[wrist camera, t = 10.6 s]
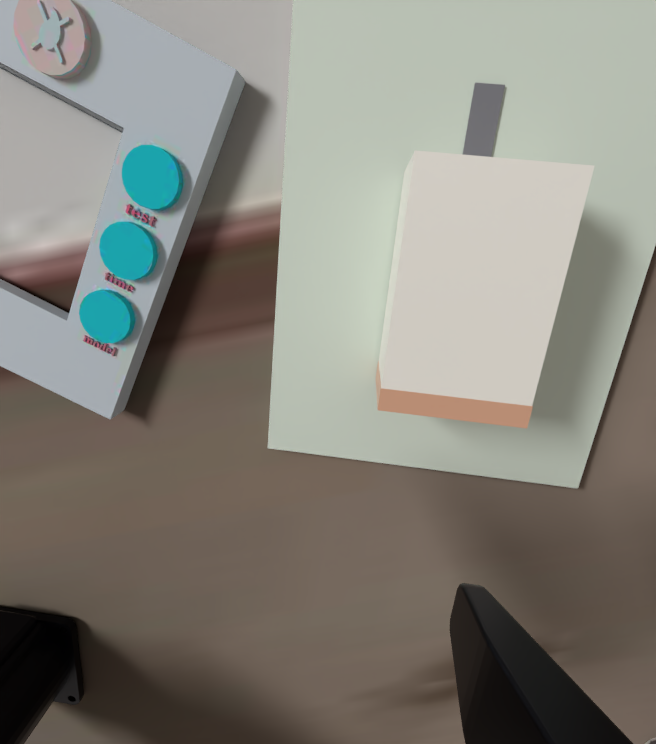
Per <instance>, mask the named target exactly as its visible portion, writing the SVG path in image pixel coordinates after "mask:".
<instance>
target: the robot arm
mask: <svg viewBox="0 0 656 744" xmlns="http://www.w3.org/2000/svg"><path fill="white" fill-rule="evenodd" d="M450 636H451V644H452V652H453V659H454V667H455V675H456V683H457V690H458V698H459V706H460V713H461V720H462V727H463V733H464V738H465V743H466V744H633V743H632V742H631V741H630V740H629V739H628V738H627V737H626V736H625V735H624V733H623V732H622V731H621V730H620V729H619V728H618V727H617V726H616V725H615V724H614V723H613V722H612V721H611V720H610V719H609V718H608V717H607V716H606V715H605V714H604V712H603V711H602V710H601V709H600V708H599V707H598V706H597V705H596V704H595V703H594V702H593V701H592V700H591V699H590V698H589V697H588V696H587V695H586V694H585V693H584V691H583V690H582V689H581V688H580V687H579V686H578V685H577V684H576V683H575V682H574V681H573V680H572V679H571V678H570V677H569V676H568V675H567V674H566V673H565V672H564V670H563V669H562V668H561V667H560V666H559V665H558V664H557V663H556V662H555V661H554V660H553V659H552V658H551V657H550V656H549V655H548V654H547V653H546V652H545V651H544V649H543V648H542V647H541V646H540V645H539V644H538V643H537V642H536V641H535V640H534V639H533V638H532V637H531V636H530V635H529V634H528V633H527V632H526V631H525V630H524V628H523V627H522V626H521V625H520V624H519V623H518V622H517V621H516V620H515V619H514V618H513V617H512V616H511V615H510V614H509V613H508V612H507V611H506V610H505V609H504V607H503V606H502V605H501V604H500V603H499V602H498V601H497V600H496V599H495V598H494V597H493V596H492V595H491V594H490V593H489V592H488V591H487V590H486V589H485V588H484V587H482V586H480V585H473V584H466V583H462V584H460V585H459V587H458V588H457V592H456V596H455V601H454V605H453V609H452V613H451V618H450ZM83 695H84V690H83V682H82V673H81V665H80V656H79V647H78V639H77V630H76V624H75V622H74V621H73V620H71V619H69V618H66V617H59V616H53V615H47V614H41V613H34V612H28V611H22V610H15V609H9V608H3V607H0V744H24V743H25V741H26V740H27V739H28V737H29V736H30V734H31V733H32V731H33V730H34V728H35V727H36V725H37V724H38V723H39V721H40V720H41V718H42V717H43V715H44V714H45V712H46V711H47V710H48V708H49V707H50V705H51V704H52V702H53V701H55V702H61V703H67V704H72V705H76V704H78V703H79V702H80V700H81V699H82V697H83Z"/></svg>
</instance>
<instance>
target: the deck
mask: <svg viewBox="0 0 656 744" xmlns="http://www.w3.org/2000/svg"><path fill="white" fill-rule="evenodd" d="M593 170H594V166H593V165H582V164H570V163H558V162H546V161H534V160H522V159H510V158H499V157H487V156H475V155H463V154H451V153H439V152H427V151H416V150H415V151H414V153H413V155H412V157H411V159H410V161H409V163H408V165H407V167H406V169H405V171H404V177H403V185H402V192H401V199H400V207H399V214H398V221H397V229H396V236H395V243H394V251H393V258H392V265H391V273H390V280H389V288H388V295H387V302H386V310H385V317H384V324H383V332H382V339H381V346H380V354H379V361H378V365H377V372H376V394H377V409H378V410H379V411H388V412H396V413H404V414H412V415H420V416H428V417H437V418H445V419H453V420H461V421H469V422H478V423H486V424H494V425H502V426H510V427H518V428H527V427H528V423H529V420H530V416H531V412H532V408H533V406H532V405H533V401H534V397H535V393H536V389H537V385H538V382H539V378H540V374H541V370H542V366H543V362H544V358H545V355H546V351H547V347H548V343H549V339H550V335H551V332H552V328H553V324H554V320H555V316H556V312H557V309H558V305H559V301H560V297H561V293H562V289H563V285H564V282H565V278H566V274H567V270H568V266H569V262H570V259H571V255H572V251H573V247H574V243H575V239H576V236H577V232H578V228H579V224H580V220H581V216H582V213H583V209H584V205H585V201H586V197H587V193H588V189H589V186H590V182H591V178H592V174H593Z"/></svg>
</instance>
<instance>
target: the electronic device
mask: <svg viewBox="0 0 656 744" xmlns="http://www.w3.org/2000/svg"><path fill="white" fill-rule="evenodd" d="M0 62H1V63H2V64H4V65H6V66H8V67H10V68H12V69H14V70H16V71H17V72H19V73H21V74H23V75H25V76H27V77H29V78H31V79H32V80H34V81H36V82H38V83H40V84H42V85H44V86H46V87H47V88H49V89H51V90H53V91H55V92H57V93H59V94H61V95H63V96H64V97H66V98H68V99H70V100H72V101H74V102H76V103H78V104H79V105H81V106H83V107H85V108H87V109H89V110H91V111H93V112H94V113H96V114H98V115H100V116H102V117H104V118H106V119H108V120H109V121H111V122H113V123H115V124H117V125H119V126H121V127H123V128H124V129H123V132H122V136H121V139H120V143H119V146H118V150H117V153H116V156H115V160H114V163H113V166H112V170H111V173H110V177H109V180H108V183H107V187H106V190H105V194H104V197H103V200H102V204H101V207H100V211H99V214H98V217H97V221H96V224H95V227H94V231H93V234H92V238H91V241H90V244H89V248H88V251H87V255H86V258H85V261H84V265H83V268H82V272H81V275H80V278H79V282H78V285H77V288H76V292H75V295H74V299H73V302H72V305H71V309H70V312H69V313H67V312H65V311H63V310H61V309H59V308H57V307H55V306H53V305H51V304H49V303H47V302H45V301H43V300H41V299H39V298H37V297H35V296H33V295H31V294H29V293H27V292H25V291H23V290H21V289H19V288H17V287H15V286H13V285H11V284H9V283H7V282H5V281H4V280H2V279H0V366H2V367H4V368H6V369H8V370H10V371H12V372H14V373H16V374H18V375H20V376H22V377H24V378H26V379H28V380H30V381H32V382H34V383H36V384H39V385H41V386H43V387H45V388H47V389H49V390H51V391H53V392H55V393H57V394H59V395H61V396H63V397H65V398H67V399H69V400H71V401H73V402H75V403H77V404H79V405H82V406H84V407H86V408H88V409H90V410H92V411H94V412H96V413H98V414H100V415H102V416H104V417H106V418H108V419H112V418H113V417H115V416H116V415H118V414H119V413H121V412H122V411H124V409H125V407H126V404H127V401H128V399H129V396H130V393H131V390H132V388H133V385H134V382H135V380H136V377H137V374H138V372H139V369H140V366H141V363H142V361H143V358H144V355H145V353H146V350H147V347H148V344H149V342H150V339H151V336H152V334H153V331H154V328H155V326H156V323H157V320H158V317H159V315H160V312H161V309H162V307H163V304H164V301H165V299H166V296H167V293H168V290H169V288H170V285H171V282H172V280H173V277H174V274H175V271H176V269H177V266H178V263H179V261H180V258H181V255H182V253H183V250H184V247H185V244H186V242H187V239H188V236H189V234H190V231H191V228H192V225H193V223H194V220H195V217H196V215H197V212H198V209H199V207H200V204H201V201H202V198H203V196H204V193H205V190H206V188H207V185H208V182H209V179H210V177H211V174H212V171H213V169H214V166H215V163H216V161H217V158H218V155H219V152H220V150H221V147H222V144H223V142H224V139H225V136H226V133H227V131H228V128H229V125H230V123H231V120H232V117H233V115H234V112H235V109H236V106H237V104H238V101H239V98H240V96H241V93H242V90H243V87H244V85H245V81H244V79H243V78H242V77H241V75H240V74H239V72H238V71H237V70H236V69H234V68H233V67H231V66H229V65H227V64H225V63H224V62H222V61H220V60H218V59H216V58H214V57H213V56H211V55H209V54H207V53H205V52H204V51H202V50H200V49H198V48H196V47H194V46H193V45H191V44H189V43H187V42H185V41H184V40H182V39H180V38H178V37H176V36H174V35H173V34H171V33H169V32H167V31H165V30H164V29H162V28H160V27H158V26H156V25H154V24H153V23H151V22H149V21H147V20H145V19H144V18H142V17H140V16H138V15H136V14H134V13H133V12H131V11H129V10H127V9H125V8H124V7H122V6H120V5H118V4H116V3H114V2H113V1H111V0H0ZM0 68H1V67H0ZM2 69H3V68H2ZM4 70H5V69H4ZM9 73H10V72H9ZM11 74H12V73H11ZM13 75H14V74H13ZM15 76H16V75H15ZM17 77H18V76H17ZM19 78H20V77H19ZM26 82H27V81H26ZM28 83H29V82H28ZM30 84H31V83H30ZM32 85H33V84H32ZM34 86H35V85H34ZM36 87H37V86H36ZM41 90H42V89H41ZM43 91H44V90H43ZM45 92H46V91H45ZM47 93H48V92H47ZM49 94H50V93H49ZM51 95H52V94H51ZM56 98H57V97H56ZM58 99H59V98H58ZM60 100H61V99H60ZM62 101H63V100H62ZM64 102H65V101H64ZM66 103H67V102H66ZM73 107H74V106H73ZM75 108H76V107H75ZM77 109H78V108H77ZM79 110H80V109H79ZM81 111H82V110H81ZM83 112H84V111H83ZM88 115H89V114H88ZM90 116H91V115H90ZM92 117H93V116H92ZM94 118H95V117H94ZM96 119H97V118H96ZM98 120H99V119H98ZM105 124H106V123H105ZM107 125H108V124H107ZM109 126H110V125H109ZM111 127H112V126H111ZM113 128H114V127H113ZM115 129H116V128H115ZM120 132H121V131H120Z"/></svg>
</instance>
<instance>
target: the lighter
mask: <svg viewBox="0 0 656 744" xmlns="http://www.w3.org/2000/svg"><path fill="white" fill-rule="evenodd" d="M645 744H656V737H655V738H653V739H650V740H649V741H647V742H646V743H645Z"/></svg>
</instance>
